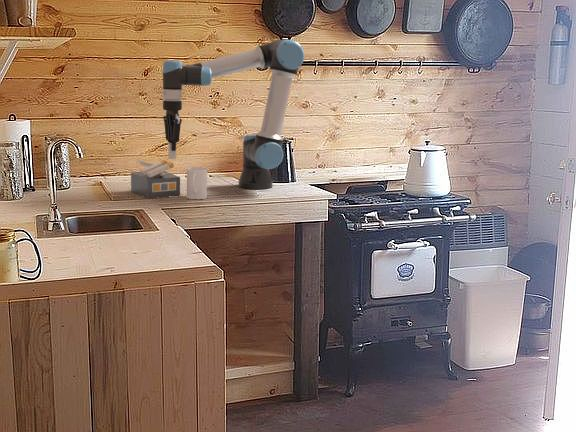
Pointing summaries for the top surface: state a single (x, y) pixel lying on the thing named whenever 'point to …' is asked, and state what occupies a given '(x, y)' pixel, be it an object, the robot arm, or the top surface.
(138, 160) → the rocker
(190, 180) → the mug
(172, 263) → the top surface
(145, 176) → the control box
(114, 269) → the top surface
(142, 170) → the rocker
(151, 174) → the rocker
